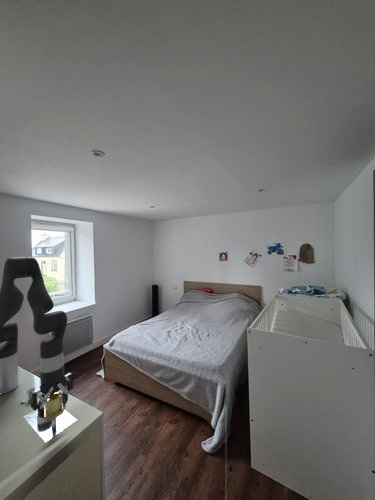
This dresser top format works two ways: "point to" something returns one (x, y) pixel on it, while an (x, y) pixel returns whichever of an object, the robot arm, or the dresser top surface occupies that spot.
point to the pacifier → (29, 395)
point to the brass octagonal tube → (54, 406)
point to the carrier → (49, 424)
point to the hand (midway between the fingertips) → (53, 409)
